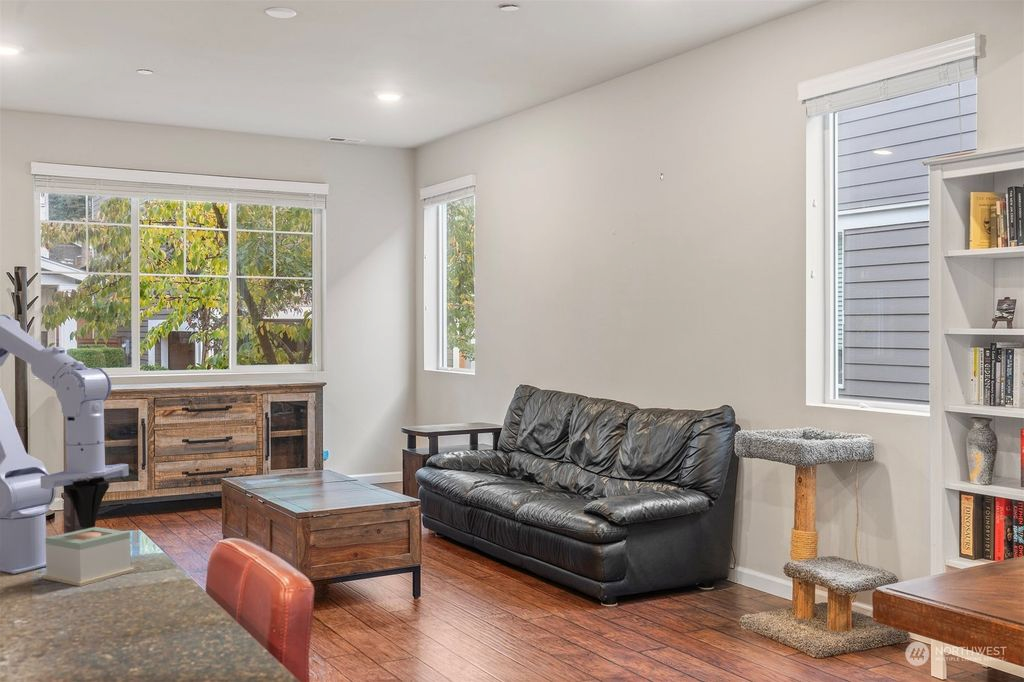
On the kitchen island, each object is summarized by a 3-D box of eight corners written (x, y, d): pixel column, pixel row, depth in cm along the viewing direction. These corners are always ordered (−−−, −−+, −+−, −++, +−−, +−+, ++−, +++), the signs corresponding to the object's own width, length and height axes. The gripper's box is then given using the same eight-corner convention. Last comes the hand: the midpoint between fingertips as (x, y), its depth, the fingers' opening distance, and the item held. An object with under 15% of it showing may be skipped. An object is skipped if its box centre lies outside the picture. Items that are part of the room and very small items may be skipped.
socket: (41, 578, 151) (40, 538, 151) (97, 564, 160) (96, 526, 160) (79, 586, 146) (78, 544, 146) (135, 571, 155) (134, 531, 155)
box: (97, 542, 176) (95, 478, 176) (71, 546, 173) (69, 481, 173) (88, 537, 181) (86, 475, 181) (63, 541, 178) (61, 478, 178)
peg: (70, 573, 152) (69, 536, 152) (92, 567, 156) (91, 531, 156) (85, 576, 150) (84, 538, 150) (107, 570, 154) (106, 533, 154)
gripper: (58, 450, 144) (60, 537, 145) (139, 439, 157) (141, 520, 157) (31, 447, 148) (33, 533, 148) (112, 437, 160) (114, 516, 161)
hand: (87, 526), depth 153 cm, fingers closed
